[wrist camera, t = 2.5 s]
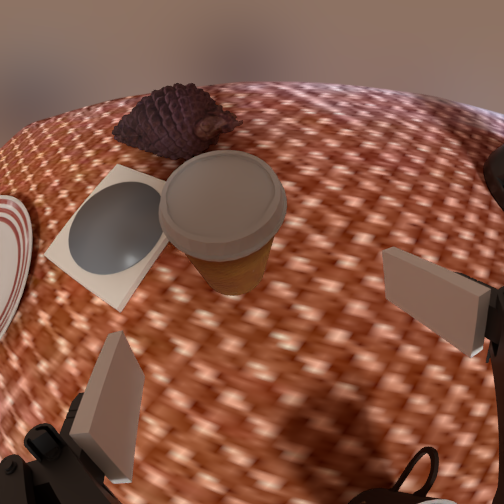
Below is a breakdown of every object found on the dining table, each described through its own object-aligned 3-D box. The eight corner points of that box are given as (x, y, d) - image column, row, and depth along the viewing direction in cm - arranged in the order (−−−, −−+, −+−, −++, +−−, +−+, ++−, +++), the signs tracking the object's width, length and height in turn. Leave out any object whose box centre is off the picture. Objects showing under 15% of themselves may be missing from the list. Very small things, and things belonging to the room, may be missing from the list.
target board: (119, 168, 40) (117, 162, 39) (199, 199, 37) (198, 192, 36) (47, 258, 33) (42, 253, 32) (120, 312, 30) (116, 308, 29)
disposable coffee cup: (220, 330, 29) (194, 277, 18) (172, 257, 33) (135, 184, 22) (299, 276, 31) (316, 202, 21) (245, 213, 35) (238, 130, 25)
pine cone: (116, 180, 39) (88, 125, 30) (133, 133, 44) (114, 82, 35) (245, 170, 39) (240, 105, 30) (245, 123, 43) (241, 65, 35)
